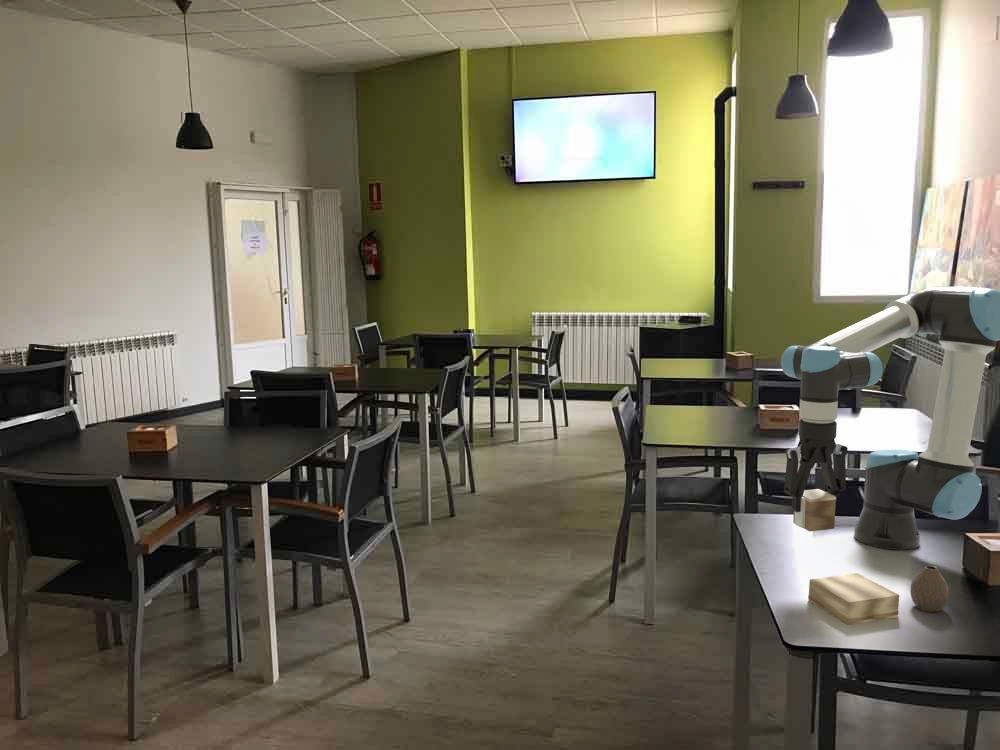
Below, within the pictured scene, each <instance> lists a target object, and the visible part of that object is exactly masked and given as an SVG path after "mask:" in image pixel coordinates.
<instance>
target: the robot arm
mask: <svg viewBox="0 0 1000 750" xmlns="http://www.w3.org/2000/svg"><path fill="white" fill-rule="evenodd" d="M921 334H923V335H926V334H929V335H938V336H939V339H938V343H939V344H940V345H941V346H942V348H943V349H944V351H943V352H944V353H943V358H942V364H941V365H942V366H941V370H940V375H939V381H938V387H937V392H936V398H935V404H934V408H933V415H932V420H931V426H930V433H929V439H928V443H927V448H926V450H924V451H922V452H921V453H918V452H916V451H914V450H908V449H881V450H880V449H879V450H874V451H872V452H870V453H868V455H866V456H867V457H866V463H865V468H864V469H865V470H864V471H865V472H864V492H863V493H864V494H863V505H862V506H863V507H862V510H861V513H860V514H859V517H858V520H857V523H856V524H855V526H854V533H853V536H854V538H855V539H856V540H857V541H858V542H860V543H862V544H865V545H868V546H872V547H875V548H879V549H880V548H881V549H886V550H897V551H898V550H904V551H905V550H913V549H915V548H918V547H920V545H921V544H920V542H921V535H920V534H921V533H920V532H919V528H918V524H917V521H916V516H915V510H918V511H922V512H924V513H928V514H930V515H933V516H935V517H937V518H944V519H948V520H953V521H954V520H961V519H963V518H966V517H967V516H968V515H970V513H971V512H973V510H974V509H975V508H976V507H977V504H978V503H979V502H980V499H981V495H982V489H983V487H982V486H983V485H982V483H981V478H980V477H979V476H978V475H976V474H975V472H974V466H975V463H974V462H973V461H972V460H971V459H970V457H969V452H970V448H971V447H970V446H971V442H972V441H971V440H972V437H973V431H974V425H975V419H976V415H977V409H978V402H979V398H980V391H981V388H982V387H981V385H982V381H983V375H984V371H985V370H984V369H985V363H986V357H987V356H988V355H989V353H990V352H992V351H994V350H995V349H996V347H997V342H999V341H1000V290H998V289H995V288H988V287H982V286H981V287H979V286H978V287H977V286H975V287H974V286H973V287H972V286H971V287H970V286H966V287H965V286H944V285H943V286H941V285H939V286H931V287H927V288H924V289H920V290H917V291H914V292H911V293H908V294H906V295H904V296H901V297H899V298H897V299H895V300H893V301H891V302H889V303H888V304H887V305H886V306H885V307H884V309H883V310H881V311H879V312H877V313H875V314H872V315H871V316H868V317H867V318H864V319H862V320H860V321H858V322H856V323H854V324H851V325H849V326H848V327H847V326H846V327H844V328H843V329H841V330H839V331H836V332H834V333H832V334H830V335H828V336H827V337H823V338H821V339H820V340H818V341H815V342H813V343H810V344H808V345H805V346H803V345H791V346H788V347H787V348H786V349H785V350H783V353H782V355H781V358H780V366H781V369H782V372H783V374H785V375H786V376H788V377H790V378H793V379H794V378H795V379H796V380H800V385H799V386H800V388H799V389H800V395H799V414H798V415H799V417H800V420H799V421H798V437H799V440H798V443H797V445H796V446H795V447H793V448H790V447H787V448H786V449H785V456H786V468H785V476H784V477H785V478H784V486H783V492H784V493H785V494H787V495H789V496H791V498H792V501H791V502H792V503H791V509H792V511H793V512H794V511H795V520H794V523H793V524H794V525H796V526H798V527H800V528H801V529H804V528H805V508H806V498H804V497H802V496H803V493H804V490H806V486H807V483H808V480H809V478H810V474H811V471H812V469H814V468H815V464H819V465H820V469H821V473H822V476H823V480H824V485H825V488H826V492H827V493H829V494H831V495H833V496H835V497H836V500H835V509H836V508H837V498H838V496H840V495H841V493H842V492H844V491H846V489H847V484H846V483H847V480H846V478H847V474H846V456H847V453H848V449H849V448H848V447H847V446H846V445H842V444H840V443H836V441H835V439H836V437H837V427H838V425H837V424H838V423H837V421H835V420H837V419H838V412H839V411H838V406H839V405H838V404H839V391H840V390H848V389H850V390H851V389H857V388H861V389H864V388H866V387H870V386H873V385H876V384H877V383H878V382H879V381H880V380H881V378H882V375H883V369H884V368H883V363H882V361H881V359H880V358H879V356H878V355H876V354H875V353H873V352H872V351H875V350H876V349H879V348H881V347H883V346H885V345H888V344H889V343H891V342H893V341H895V340H897V339H900V338H901V339H908V338H912V337H913V336H915V335H921ZM832 454H833V459H832ZM800 455H801V456H800ZM799 458H800V460H799Z"/></svg>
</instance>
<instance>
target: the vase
mask: <svg viewBox="0 0 1000 750" xmlns="http://www.w3.org/2000/svg"><path fill="white" fill-rule="evenodd" d="M910 598H911V600H912V602H913V603H914V605H915V606H916V607H917V608H918V609H919V610H921V611H924V612H928V613H937V612H939V611H941V610H942V609H944V608H945V606H946V605H947V602H948V600H949V587H948V584H947V582H946V580H945V577H943V575H942V574H941V573H940V571H939V569H938V567H936V566H935V565H929V564H928V565H924V566H923V568H922V570H920V572H918V573H917V574H916V575H915V576H914V578H913V579H912V581H911V585H910Z"/></svg>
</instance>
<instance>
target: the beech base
mask: <svg viewBox="0 0 1000 750" xmlns="http://www.w3.org/2000/svg"><path fill="white" fill-rule="evenodd" d="M807 598H808V602H810V603H811V604H813V605H815V606H816V607H818V608H820V609H821V610H822V611H824V612H826V613H828V614H829V615H831V616H833V617H834V618H836V619H838V620H839V621H840V622H843V624H846V625H847V626H848V625H849V626H850V625H855V624H862V623H869V622H875V621H883V620H888V619H893V618H895V619H896V618H898V617H899V613H900V612H899V605H900V603H899V602H900V594H898V593H897V592H895V591H892V590H891V589H889V588H887V587H885V586H883V585H881V584H879V583H877V582H875V581H873V580H871V579H870V578H868V577H865V576H864V575H862V574H860V573H849V574H848V573H847V574H841V575H833V576H827V577H826V576H825V577H819V578H818V577H817V578H811V579H809V584H808V597H807ZM867 621H868V622H867Z"/></svg>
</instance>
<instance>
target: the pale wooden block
mask: <svg viewBox="0 0 1000 750" xmlns="http://www.w3.org/2000/svg"><path fill="white" fill-rule="evenodd" d="M802 497H804V498H806V508H805V528H803V529H804V530H806V531H808V532H816V531H826V530H833V529H834V530H835V523H836V522H835V521H836V508H835V500H836V497H835V496H833V495H831V494H829V493H828V491H824V490H822V489H820V488H815V489H805V490H804V493H803V496H802ZM792 520H793V524H794V520H795V511H793V519H792Z"/></svg>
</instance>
